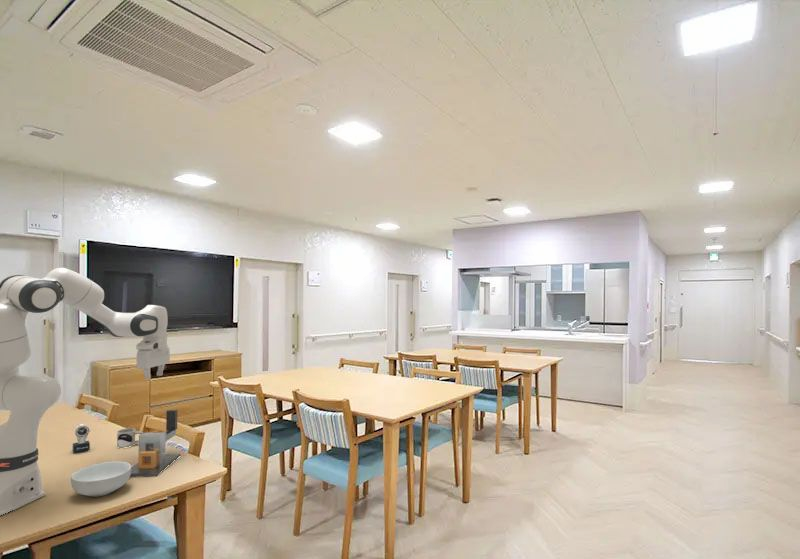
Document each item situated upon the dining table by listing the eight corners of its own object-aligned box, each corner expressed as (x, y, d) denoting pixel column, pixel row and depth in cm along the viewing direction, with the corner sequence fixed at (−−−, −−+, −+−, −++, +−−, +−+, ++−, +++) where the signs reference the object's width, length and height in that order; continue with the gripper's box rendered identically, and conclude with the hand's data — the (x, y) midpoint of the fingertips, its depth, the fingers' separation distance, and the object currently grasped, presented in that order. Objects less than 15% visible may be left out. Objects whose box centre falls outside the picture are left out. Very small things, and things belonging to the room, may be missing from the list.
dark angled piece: (158, 447, 174) (158, 420, 174) (148, 447, 174) (149, 420, 174) (177, 434, 190) (177, 409, 190) (168, 434, 190) (168, 409, 190)
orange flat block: (153, 468, 169) (154, 452, 169) (138, 468, 168) (138, 453, 169) (156, 466, 171) (156, 451, 171) (141, 466, 170) (141, 451, 171)
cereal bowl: (56, 501, 144) (57, 478, 145) (98, 480, 161) (98, 460, 161) (105, 504, 142) (105, 481, 142) (142, 482, 159) (142, 462, 159)
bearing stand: (156, 476, 164) (156, 441, 164) (122, 477, 163) (122, 441, 164) (180, 456, 184) (181, 425, 184) (150, 457, 183) (151, 425, 184)
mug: (115, 449, 193) (115, 433, 193) (119, 444, 199) (119, 429, 200) (141, 446, 196) (141, 431, 196) (145, 442, 202) (145, 427, 203)
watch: (74, 454, 186) (74, 427, 187) (72, 449, 192) (72, 423, 193) (90, 451, 190) (91, 425, 190) (88, 446, 196) (88, 421, 196)
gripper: (159, 341, 199) (158, 373, 199) (133, 345, 179) (132, 381, 178) (174, 341, 200) (173, 373, 199) (149, 345, 179) (148, 381, 178)
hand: (153, 377), depth 188 cm, fingers open, 8 cm apart
